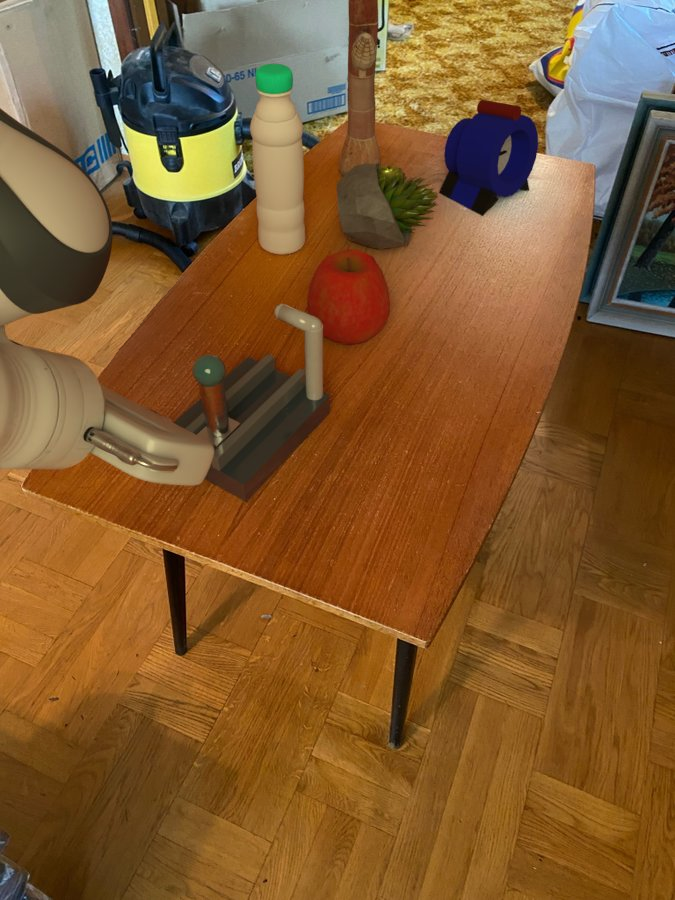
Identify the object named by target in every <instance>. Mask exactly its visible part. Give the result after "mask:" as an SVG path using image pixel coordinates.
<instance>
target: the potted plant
mask: <svg viewBox="0 0 675 900" xmlns="http://www.w3.org/2000/svg"><path fill="white" fill-rule="evenodd" d="M407 177H408V175H406V173H405V172H404V171H403V169H402V168H401V167H397V166H394V165H392V164H389V165H387V166H385V165H381V166H379V163H377V164H368V163H364V164H361V165H357V166H355V167H354V168H352V169H351V170H350V171H349V172H347V173H346V174H345V175H344V176H343V177H342V176H341V179H339V181H338V182H337V183H336V196H337V213H338V218H339V222H340V226H341V230H342V233H343V235H344V237H345V238H346V240H348V241H351V242H353V243H357V244H360V245H363V246H365V247H369V248H371V249H379V250H380V249H382V250H383V249H388V248H389V249H390V248H391V249H392V248H399V247H406V246H409V244H410V240H411V237H412V234H415V231H416V228H414V227H426V226H427V225H425V224H424V222H423V221H426V220H433V219H434V217H430V216H425V215H429V214H431V213H436V212H437V211H436V210H432V208H434V207H437V206H438V205H439V204H437V202H436V201H437V199H438V198H439V195H438V193H437V192H436V191H434V190H435V189H436V188H429V187H430V186H431V185H432V183H425V184H421V183H422V182H423V181H425V180H426V178H424V177H421V176H420V177H418V176H417V175H416V176H414V177H410V178H408V179H407ZM417 177H418V178H417ZM416 178H417V179H416ZM406 179H407V180H406ZM419 184H421V185H419ZM435 200H436V201H435Z"/></svg>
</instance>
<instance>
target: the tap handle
mask: <svg viewBox="0 0 675 900" xmlns="http://www.w3.org/2000/svg"><path fill="white" fill-rule="evenodd" d="M191 369H192V376H193V378H194V380H195V381H196V383H198V388H199V393H200V398H202V404H203V410H204V415H205V421H206V426H205V427H204V428H203V429H202V430H201V431H200V432H199V433H198V434H197V436H199V437H201V438H203V439H205V440H207V441H209V442H210V443H212V444H213V446H214V451H215V450H216V449H217V448H218V447H219V446H220V445H221V444H222V443H223V442H224V441H225V440H226V439H227V438H228V437H229V436H230V435H231V434H232V433H233V432H234V431H235V430H236V429H237V428H238V427H239V426H241V423H239V422H237V421H235V420H233V419H231V418H229V417H228V411H227V404H226V397H225V390H224V384H223V379H224V377H225V376H226V374H227V373H226V372H227V371H226V370H227V369H226V365H225V363H224V361H223V360H222V359H221V358H220V357H219V356H217V355H216V354H212V353H206V354H202V355H200V356H198V357H197V358H196V360H195V361H194V362H193V365H192V368H191Z"/></svg>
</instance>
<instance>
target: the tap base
mask: <svg viewBox="0 0 675 900" xmlns="http://www.w3.org/2000/svg"><path fill="white" fill-rule="evenodd" d="M273 314H274V317H275V318H276V319H277V320H278V321H280V322H282V323H285V324H287V325H290V326H292V327H294V328H296V329H298V330H300V331H303V335H304V336H303V337H304V342H303V343H304V369H303V368H300V367H299V369H297V371H296V372H294V373H293V374H292V375H291V376H290V375H289V374H286V373H284V372H282V371H281V370H278V369H276V359H275V358H276V357H275V356H274V355H272V354H269V353H266V355H265V356H264V357H262V358H261V359H260V361H259V360H256V359H254V358H252V357H250V356H246V357H245V358H244V359H243V360H242V361H241V362H240V363H239V364H238V365H237V366H235V367H234V368H233V369H232V370H231V371H229V372H228V373H226V374H225V377H224V379H223V384H224V390H225V397H226V404H227V411H228V417H229V418H231V419H233V420H235V421H237V422H239V423H241V426H239V427H238V428H237V429H236V430H235V431H234V432H233V433H232V434H231V435H230V436H229V437H228V438H227V439H226V440H225V441H224V442H223V443H222V444H221V445H220V446H219V447H218V448H217V449H216V450H215V451H214V456H213V460H212V463H211V465H210V468H209V470H208V473H207V475H206V477H205V479H204V480H206V481H208V482H210V483H211V484H213V485H215V486H217V487H218V488H221V489H222V490H224V491H226V492H227V493H229V494H231V495H233V496H235V497H236V498H238V499H239V500H241V501H243V502H245V503H247V502H248V501H250V499H251V498H252V497H253V496H254V495H255V494H256V493H257V492H258V490H259V489H260V488H261V487H262V486H264V484H265V483H266V482H267V481H268V480H269V479H270V478H271V477H272V476H273V474H274V473H275V472H277V470H278V469H279V468H280V467H281V466H282V465H283V464H284V463H285V461H287V460H288V458H289V457H290V456H291V455H292V454H293V453H294V452H295V451H296V450H297V449H298V448H299V447H300V446H301V445H302V443H303V442H305V440H306V439H307V438H309V436H310V435H311V434H312V433H313V432H314V431H315V429H316V428H318V427H319V425H320V424H321V423H322V422H323V421H324V420H325V419H326V418H327V417H328V416H329V415H330V413H331V394H329V393H327V392H325V391H324V335H323V324H322V322H321V321H320V319H319V318H317V317H314V316H312V315H310V314H309V313H307V312H305V311H303V310H300V309H298V308H296V307H293V306H291V305H289V304H286V303H280V304H277V305H276V307H275V308H274V311H273ZM172 422H173V423H175V424H177V425H178V426H180V427H182V428H184V429H186V430H188V431H190V432H192V433H194V434H196V435H197V434H198V433H199V432H200V431H201V430H202V429H203V428H204V427H205V426H206V421H205V415H204V410H203V404H202V398H201V397H200V398H199V399H197V401H195V403H193V404H192V405H191V406H190V407H189V408H188V409H186V410H185V411H184V412H183V413H182V414H181V415H180V416H178V417H177V418H176V419H175V420H174V421H172Z"/></svg>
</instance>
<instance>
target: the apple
mask: <svg viewBox="0 0 675 900" xmlns="http://www.w3.org/2000/svg"><path fill="white" fill-rule="evenodd" d="M314 271H315V272H314V274H313V276H312V277H311V280H310V282H309V285H308V289H307V290H308V291H307V298H306V308H307V312H308V313H307V314H310V315H312V316H314V317H317V318H319V319H320V321H321V322H322V324H323V337H324V338H326V339H328V340H330V341H332V342H335V343H336V344H337V343H338V344H342V345H343V344H344V345H350V346H353V345H357V344H362V343H365V342H368V341H369V340H371V339H372V338H374V337H375V336H377V334H379V332H380V331H381V330H382V329H383V328H384V327H385V326H386V324H387V322H388V319H389V316H390V313H391V298H390V291H389V285H388V283H387V280H386V277H385V275H384V272H383V270H382V268H381V267H380V265H379V264H378V262H377V260H376V259H375V257H374V256H372V255H370V254H369V253H367V252H364V251H361V250H360V249H359V250H358V249H345V250H340V251H337V252H334V253H331V254H328V255H326V257H324V259H323V260H322V261H321V262H320V263H319V264H318V266H317V267H316V268H315V270H314Z"/></svg>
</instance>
